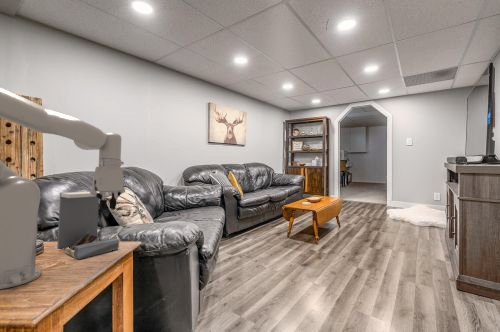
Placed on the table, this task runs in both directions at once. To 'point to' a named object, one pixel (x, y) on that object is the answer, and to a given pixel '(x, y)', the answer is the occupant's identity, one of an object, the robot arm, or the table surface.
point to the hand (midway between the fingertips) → (107, 208)
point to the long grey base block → (93, 248)
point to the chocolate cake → (85, 240)
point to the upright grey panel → (77, 217)
